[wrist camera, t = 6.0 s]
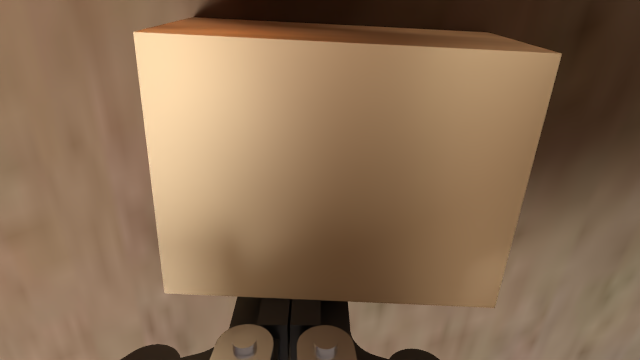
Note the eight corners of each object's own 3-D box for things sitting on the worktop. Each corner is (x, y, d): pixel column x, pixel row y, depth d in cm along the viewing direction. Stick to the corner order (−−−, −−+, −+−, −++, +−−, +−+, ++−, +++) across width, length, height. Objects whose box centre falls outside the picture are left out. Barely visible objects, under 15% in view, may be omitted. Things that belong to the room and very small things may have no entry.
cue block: (205, 213, 14) (164, 293, 11) (192, 17, 12) (133, 32, 8) (451, 225, 14) (494, 307, 11) (488, 32, 12) (561, 53, 8)
